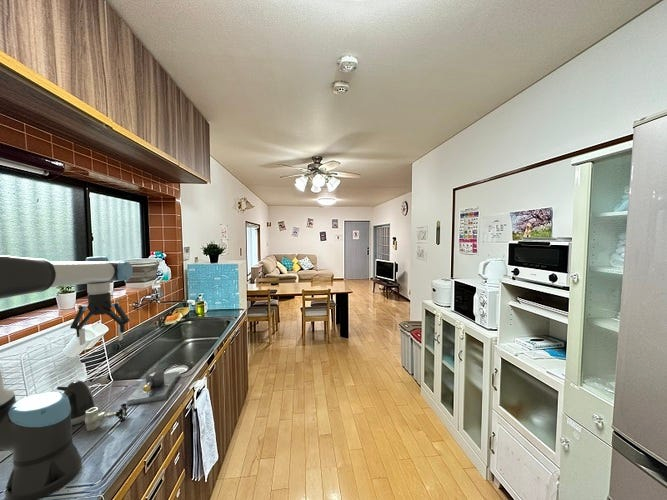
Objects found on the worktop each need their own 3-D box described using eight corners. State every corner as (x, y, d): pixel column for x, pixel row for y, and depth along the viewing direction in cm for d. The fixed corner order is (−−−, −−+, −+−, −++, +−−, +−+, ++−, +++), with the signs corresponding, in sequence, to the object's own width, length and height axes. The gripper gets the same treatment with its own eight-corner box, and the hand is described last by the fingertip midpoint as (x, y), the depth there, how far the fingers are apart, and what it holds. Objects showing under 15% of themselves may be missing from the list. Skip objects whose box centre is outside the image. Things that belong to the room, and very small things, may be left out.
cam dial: (155, 395, 119) (154, 383, 119) (136, 398, 117) (135, 386, 117) (166, 378, 134) (166, 367, 134) (150, 380, 132) (149, 369, 132)
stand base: (165, 399, 120) (164, 385, 120) (127, 405, 117) (126, 390, 117) (179, 375, 142) (178, 363, 141) (147, 379, 138) (146, 367, 138)
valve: (81, 434, 99) (122, 426, 104) (80, 416, 99) (121, 408, 103) (89, 423, 106) (128, 415, 110) (88, 406, 105) (127, 399, 110)
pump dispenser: (65, 417, 110) (62, 378, 109) (99, 409, 114) (96, 372, 114) (52, 433, 101) (50, 391, 100) (90, 424, 105) (87, 384, 104)
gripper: (136, 289, 128) (138, 335, 129) (68, 293, 121) (71, 342, 122) (129, 291, 121) (132, 341, 122) (57, 296, 114) (60, 349, 115)
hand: (101, 342), depth 122 cm, fingers open, 13 cm apart
